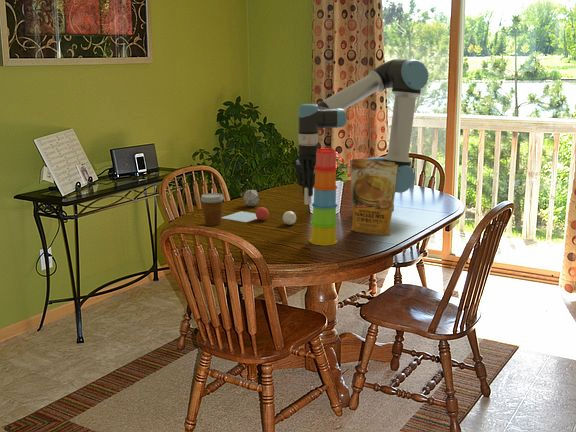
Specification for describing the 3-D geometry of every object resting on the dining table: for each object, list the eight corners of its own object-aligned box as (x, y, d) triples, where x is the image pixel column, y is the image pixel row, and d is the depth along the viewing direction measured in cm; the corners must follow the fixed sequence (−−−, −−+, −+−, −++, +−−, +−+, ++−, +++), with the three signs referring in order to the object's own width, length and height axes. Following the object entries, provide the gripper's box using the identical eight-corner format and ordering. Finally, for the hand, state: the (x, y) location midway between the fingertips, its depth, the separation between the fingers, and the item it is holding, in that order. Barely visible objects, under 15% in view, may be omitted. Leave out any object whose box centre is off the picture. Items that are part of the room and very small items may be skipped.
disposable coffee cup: (203, 227, 286) (202, 198, 283) (200, 222, 295) (198, 193, 292) (226, 225, 288) (225, 196, 285) (222, 220, 297) (221, 192, 294)
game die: (254, 213, 324) (266, 195, 325) (252, 211, 316) (264, 192, 317) (238, 203, 326) (250, 184, 326) (235, 200, 317) (247, 181, 318)
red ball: (271, 219, 297) (271, 206, 296) (263, 222, 293) (263, 209, 291) (261, 217, 300) (260, 205, 299) (252, 220, 296) (252, 207, 295)
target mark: (266, 215, 304) (266, 215, 304) (246, 222, 293) (246, 222, 293) (241, 211, 312) (241, 211, 312) (220, 218, 301) (220, 217, 301)
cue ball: (298, 223, 289) (298, 210, 288) (291, 226, 285) (290, 213, 284) (287, 222, 292) (287, 209, 291) (280, 224, 288) (279, 211, 287)
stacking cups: (335, 238, 267) (335, 146, 259) (338, 245, 257) (338, 150, 249) (308, 238, 267) (307, 147, 259) (310, 246, 257) (309, 151, 249)
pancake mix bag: (353, 227, 282) (353, 157, 276) (398, 233, 273) (399, 161, 266) (345, 231, 277) (345, 160, 270) (390, 237, 267) (392, 163, 260)
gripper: (288, 144, 276) (288, 203, 281) (316, 146, 269) (316, 207, 274) (299, 142, 282) (299, 200, 287) (327, 144, 275) (326, 204, 280)
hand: (307, 203), depth 281 cm, fingers closed
